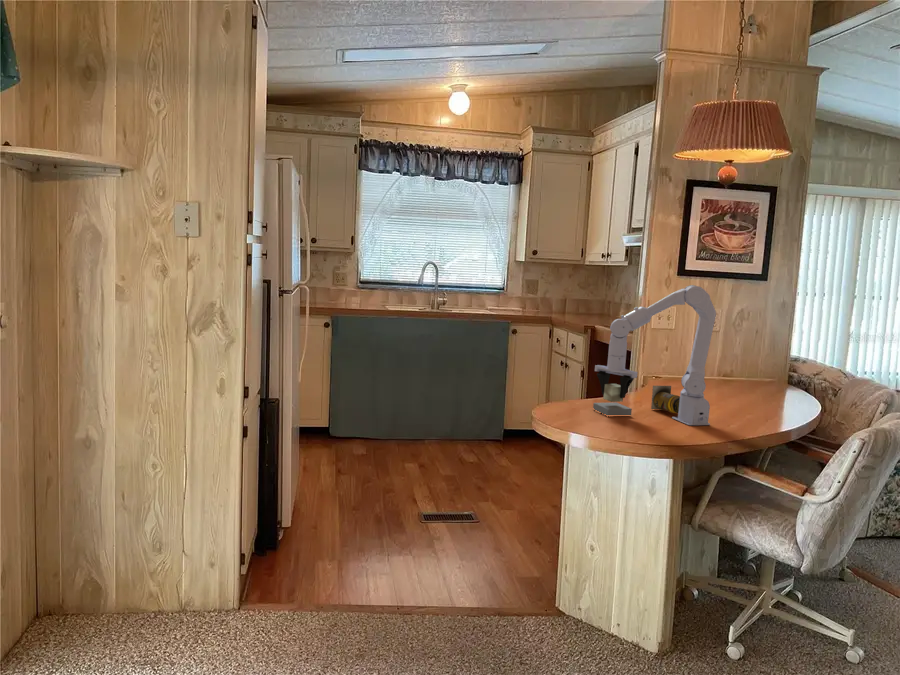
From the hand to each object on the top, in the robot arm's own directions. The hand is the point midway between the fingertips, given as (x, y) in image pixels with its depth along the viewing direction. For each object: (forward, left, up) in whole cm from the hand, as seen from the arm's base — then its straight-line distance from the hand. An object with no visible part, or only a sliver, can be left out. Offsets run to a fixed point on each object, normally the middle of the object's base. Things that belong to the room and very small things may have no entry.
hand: (613, 395), depth 224 cm
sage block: (0, 0, -1) cm, 1 cm away
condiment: (+4, -21, -2) cm, 22 cm away
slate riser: (0, 0, -6) cm, 6 cm away
